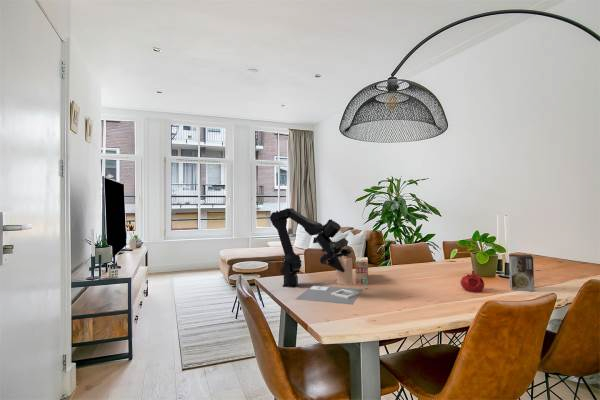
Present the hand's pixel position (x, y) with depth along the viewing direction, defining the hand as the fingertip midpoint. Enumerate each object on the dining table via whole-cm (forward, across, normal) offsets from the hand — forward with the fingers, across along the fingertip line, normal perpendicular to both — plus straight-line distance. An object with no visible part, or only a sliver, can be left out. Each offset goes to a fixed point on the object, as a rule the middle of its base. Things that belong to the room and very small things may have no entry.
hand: (347, 270), depth 149 cm
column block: (+3, 0, +5) cm, 6 cm away
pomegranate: (+37, +45, -20) cm, 62 cm away
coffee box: (+50, +61, -33) cm, 85 cm away
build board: (+3, -3, +13) cm, 14 cm away
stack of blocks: (+1, +33, +17) cm, 37 cm away
